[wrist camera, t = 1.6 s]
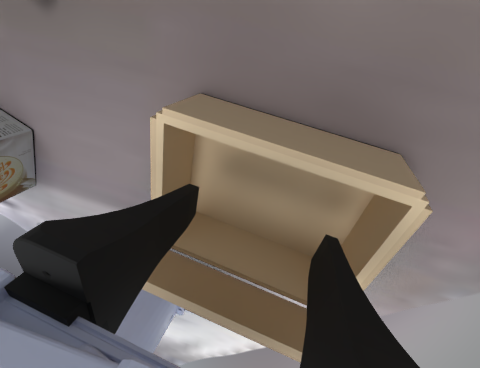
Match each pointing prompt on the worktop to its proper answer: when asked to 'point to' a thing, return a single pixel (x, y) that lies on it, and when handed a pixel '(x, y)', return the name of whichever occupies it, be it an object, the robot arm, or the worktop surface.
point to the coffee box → (15, 157)
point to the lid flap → (230, 303)
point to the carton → (281, 193)
